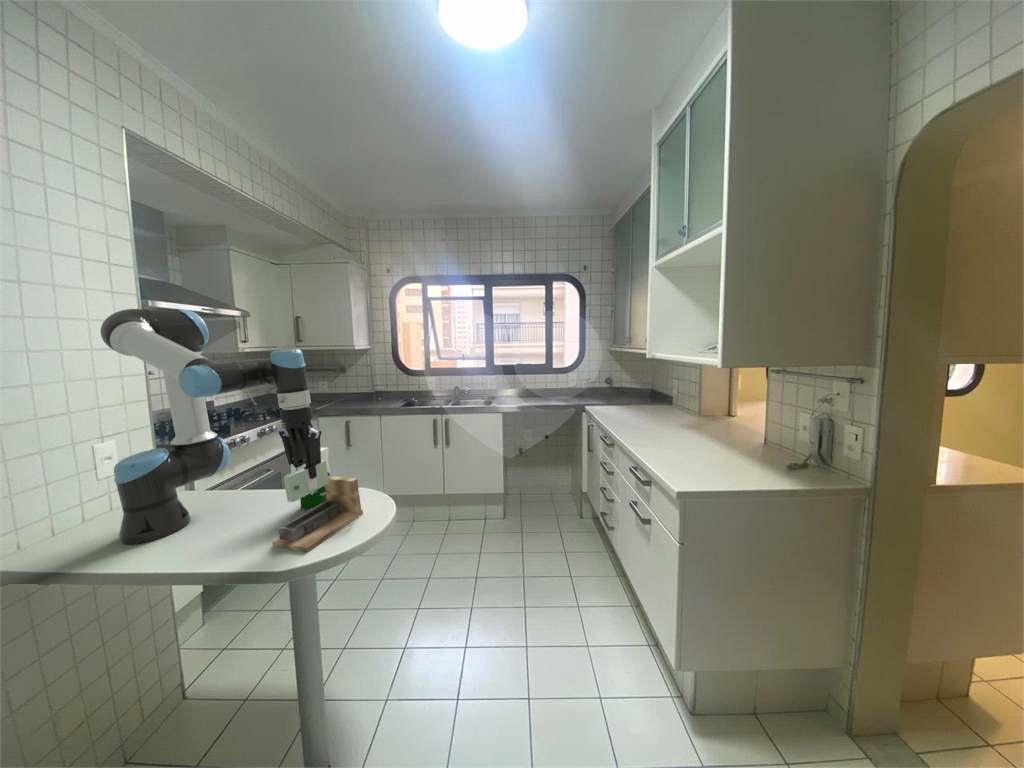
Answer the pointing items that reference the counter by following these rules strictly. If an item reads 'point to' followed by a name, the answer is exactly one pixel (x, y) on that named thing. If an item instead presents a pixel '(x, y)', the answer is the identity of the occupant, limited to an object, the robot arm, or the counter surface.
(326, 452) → the milk carton
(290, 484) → the pale green rectangular block
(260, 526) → the counter surface
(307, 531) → the wooden stand with tray
